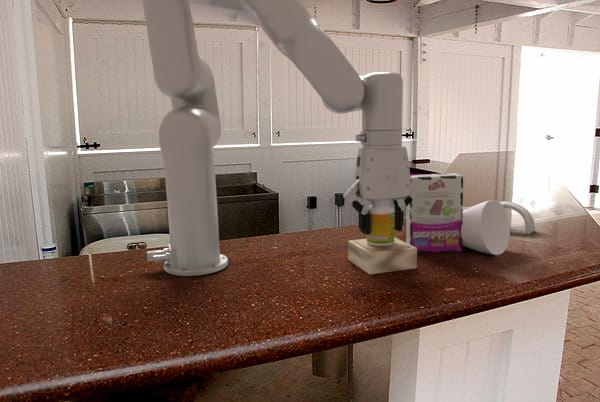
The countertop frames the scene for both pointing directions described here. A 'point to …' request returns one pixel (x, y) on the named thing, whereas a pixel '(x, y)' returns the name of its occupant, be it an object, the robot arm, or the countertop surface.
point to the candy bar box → (435, 213)
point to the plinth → (382, 256)
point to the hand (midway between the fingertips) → (381, 230)
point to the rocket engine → (486, 228)
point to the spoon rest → (522, 211)
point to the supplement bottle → (381, 223)
